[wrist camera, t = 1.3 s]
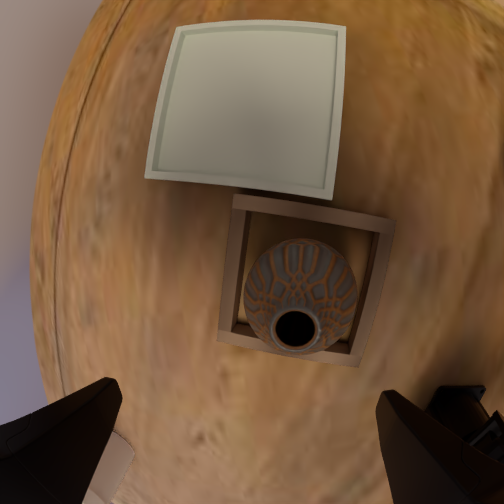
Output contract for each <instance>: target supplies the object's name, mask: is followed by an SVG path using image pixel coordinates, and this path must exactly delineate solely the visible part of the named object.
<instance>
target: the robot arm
mask: <svg viewBox="0 0 504 504" xmlns="http://www.w3.org/2000/svg"><path fill="white" fill-rule="evenodd" d="M441 391H442V392H441ZM485 391H486V388H485V386H484V385H477V386H441V387H439V388H438V389H437V391H436V393H435V395H434V397H433V399H432V401H431V402H430V404H429V406H428V408H427V409H426V411H425V412H424V411H422V410H421V409H420V408H418V407H417V406H415V405H414V404H413V403H411V402H410V401H409V400H407V399H406V398H405V397H403V396H402V395H401V394H399V393H398V392H397V391H395V390H385V391H383V392H382V393H381V395H380V398H379V401H378V403H377V406H376V419H377V426H378V433H379V440H380V447H381V452H382V457H383V461H384V464H385V468H386V473H387V477H388V481H389V485H390V490H391V494H392V498H393V503H394V504H504V417H503V416H502V415H501V414H500V413H499V412H498V411H497V410H496V411H495V412H494V413H493V414H492V416H491V417H489V415H488V413H487V412H486V410H485V409H484V407H483V406H482V404H481V403H480V400H481V398H482V396H483V394H484V393H485ZM121 403H122V393H121V391H120V388H119V385H118V383H117V381H116V380H115V379H113V378H109V377H104V378H102V379H100V380H98V381H96V382H94V383H92V384H90V385H88V386H86V387H84V388H82V389H80V390H78V391H76V392H74V393H72V394H70V395H68V396H66V397H64V398H62V399H60V400H58V401H56V402H54V403H52V404H49V405H47V406H45V407H43V408H41V409H39V410H37V411H35V412H33V413H32V414H31V413H30V414H28V415H26V416H24V417H21V418H19V419H16V420H14V421H11V422H8V423H6V424H3V425H0V504H82V502H83V500H84V497H85V495H86V492H87V490H88V487H89V485H90V483H91V480H92V478H93V475H94V473H95V471H96V468H97V466H98V464H99V461H100V459H101V457H102V454H103V452H104V450H105V447H106V445H107V443H108V441H109V438H110V436H111V434H112V431H113V428H114V425H115V422H116V418H117V415H118V412H119V409H120V406H121Z"/></svg>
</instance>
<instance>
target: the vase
mask: <svg viewBox="0 0 504 504" xmlns="http://www.w3.org/2000/svg"><path fill="white" fill-rule="evenodd" d="M356 306H357V285H356V281H355V277H354V275H353V272H352V270H351V268H350V266H349V264H348V263H347V261H346V260H345V259H344V258H343V256H342V255H341V254H340V253H339V252H337V251H336V250H335V249H334V248H332V247H331V246H329V245H327V244H325V243H323V242H321V241H318V240H314V239H309V238H295V239H290V240H286V241H283V242H280V243H278V244H276V245H274V246H272V247H271V248H269V249H268V250H267V251H265V252H264V253H263V254H262V255H261V256H260V257H259V258H258V259H257V261H256V262H255V263H254V265H253V266H252V268H251V270H250V272H249V274H248V277H247V279H246V283H245V288H244V308H245V313H246V316H247V319H248V322H249V324H250V326H251V328H252V329H253V331H254V332H255V334H256V335H257V336H258V337H259V338H260V339H261V340H262V341H263V342H264V343H265V344H267V345H268V346H269V347H271V348H273V349H275V350H277V351H280V352H282V353H286V354H291V355H308V354H313V353H317V352H319V351H322V350H324V349H326V348H328V347H329V346H331V345H332V344H334V343H335V342H336V341H337V340H338V339H339V338H340V337H341V336H342V335H343V334H344V333H345V331H346V330H347V328H348V327H349V325H350V323H351V321H352V319H353V316H354V313H355V310H356Z"/></svg>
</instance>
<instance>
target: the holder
mask: <svg viewBox="0 0 504 504" xmlns="http://www.w3.org/2000/svg"><path fill="white" fill-rule="evenodd" d="M252 211H256V212H263V213H270V214H276V215H283V216H289V217H295V218H301V219H307V220H313V221H319V222H325V223H331V224H336V225H342V226H348V227H353V228H358V229H364V230H369V231H374V235H373V241H372V246H371V251H370V256H369V261H368V266H367V271H366V275H365V280H364V284H363V288H362V292H361V297H360V301H359V305H358V308H357V312H356V316H355V320H354V323H353V327H352V330H351V334H350V337H349V341H348V344H346V343H339V342H335V343H334V344H332V345H331V346H329V347H328V348H326V349H324V350H322V351H319V352H317V353H313V354H308V355H291V354H286V353H282V352H280V351H277V350H275V349H273V348H271V347H269V346H268V345H267V344H265V343H264V342H263V341H262V340H261V339H260V338H259V337H258V336H257V335H256V334H255V332H254V331H253V329H252V328H251V326H247V325H243V324H238V323H237V319H238V311H239V303H240V296H241V288H242V280H243V273H244V265H245V258H246V250H247V243H248V235H249V228H250V220H251V213H252ZM395 225H396V220H392V219H387V218H382V217H377V216H372V215H367V214H362V213H357V212H351V211H346V210H340V209H335V208H329V207H323V206H317V205H311V204H305V203H299V202H293V201H286V200H279V199H272V198H265V197H258V196H250V195H243V194H235V193H234V195H233V203H232V210H231V218H230V226H229V234H228V243H227V251H226V259H225V268H224V277H223V286H222V295H221V304H220V314H219V323H218V333H217V341H220V342H224V343H228V344H232V345H236V346H241V347H245V348H249V349H254V350H258V351H263V352H268V353H273V354H278V355H283V356H288V357H293V358H299V359H304V360H310V361H316V362H323V363H329V364H336V365H343V366H350V367H359V365H360V362H361V359H362V356H363V353H364V350H365V347H366V344H367V341H368V338H369V335H370V331H371V328H372V325H373V321H374V318H375V314H376V311H377V307H378V303H379V300H380V296H381V292H382V288H383V284H384V280H385V275H386V271H387V266H388V262H389V257H390V252H391V247H392V242H393V236H394V231H395Z"/></svg>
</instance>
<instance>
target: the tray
mask: <svg viewBox="0 0 504 504" xmlns="http://www.w3.org/2000/svg"><path fill="white" fill-rule="evenodd" d="M345 49H346V26H339V25H332V24H324V23H315V22H304V21H288V20H238V21H222V22H211V23H202V24H194V25H187V26H180V27H176V31H175V34H174V37H173V40H172V44H171V47H170V51H169V54H168V58H167V62H166V66H165V70H164V73H163V78H162V82H161V86H160V90H159V95H158V99H157V104H156V109H155V114H154V119H153V125H152V130H151V136H150V142H149V148H148V154H147V161H146V169H145V176H144V178H148V179H157V180H171V181H183V182H194V183H204V184H214V185H223V186H232V187H241V188H249V189H257V190H264V191H272V192H279V193H286V194H292V195H299V196H305V197H312V198H318V199H324V200H330V201H331V200H332V197H333V190H334V183H335V175H336V167H337V158H338V149H339V140H340V130H341V118H342V106H343V92H344V74H345Z"/></svg>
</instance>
